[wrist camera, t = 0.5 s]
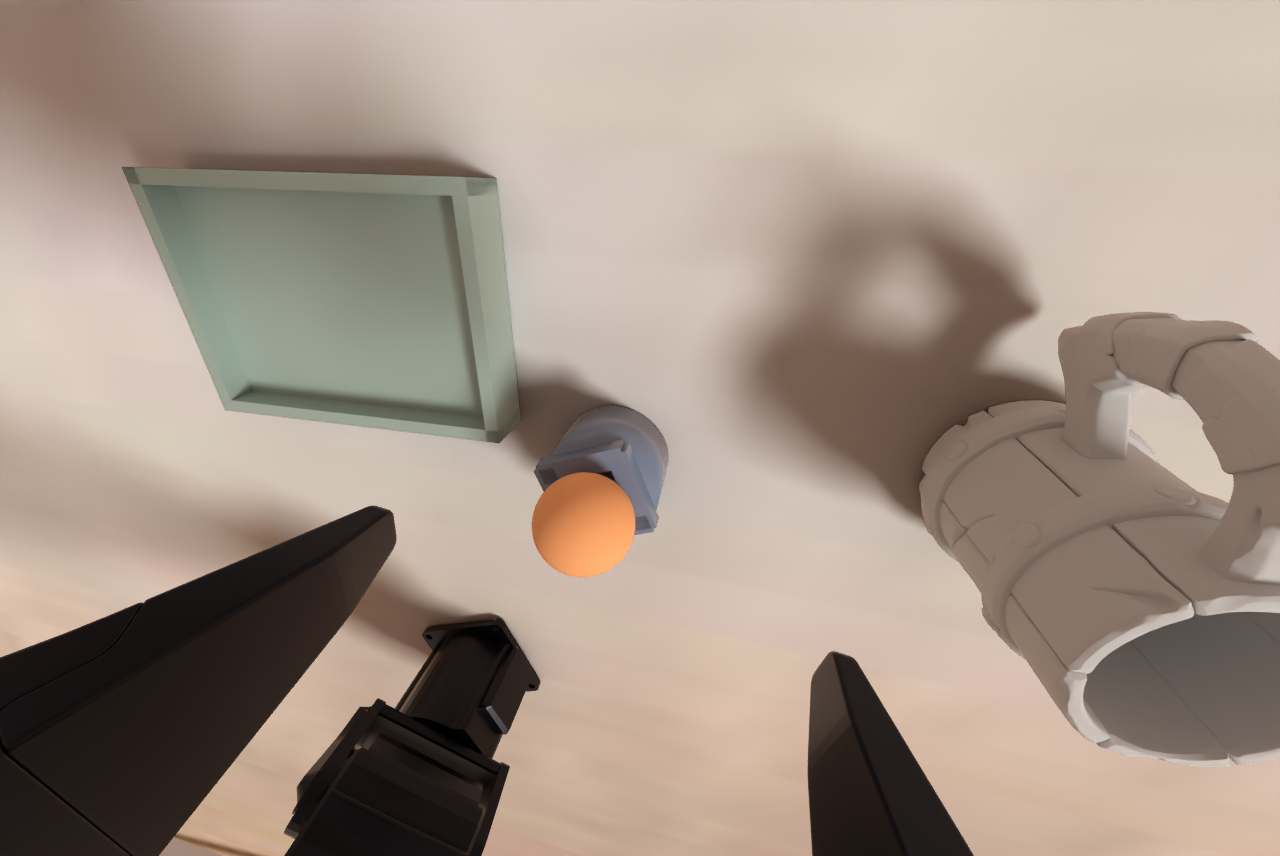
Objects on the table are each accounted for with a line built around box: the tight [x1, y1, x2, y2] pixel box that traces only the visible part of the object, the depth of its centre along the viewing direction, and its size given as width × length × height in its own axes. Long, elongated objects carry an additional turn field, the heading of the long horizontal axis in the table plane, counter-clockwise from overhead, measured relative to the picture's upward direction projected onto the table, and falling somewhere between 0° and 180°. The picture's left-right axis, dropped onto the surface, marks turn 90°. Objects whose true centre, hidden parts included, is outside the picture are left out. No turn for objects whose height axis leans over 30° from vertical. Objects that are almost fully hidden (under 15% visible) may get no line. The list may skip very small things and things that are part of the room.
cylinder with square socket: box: [534, 405, 668, 535], centre depth 21 cm, size 5×5×4 cm
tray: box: [122, 167, 521, 443], centre depth 21 cm, size 15×11×2 cm
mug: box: [919, 312, 1280, 767], centre depth 14 cm, size 8×12×12 cm, turn 6°
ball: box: [532, 472, 635, 577], centre depth 18 cm, size 4×4×4 cm
